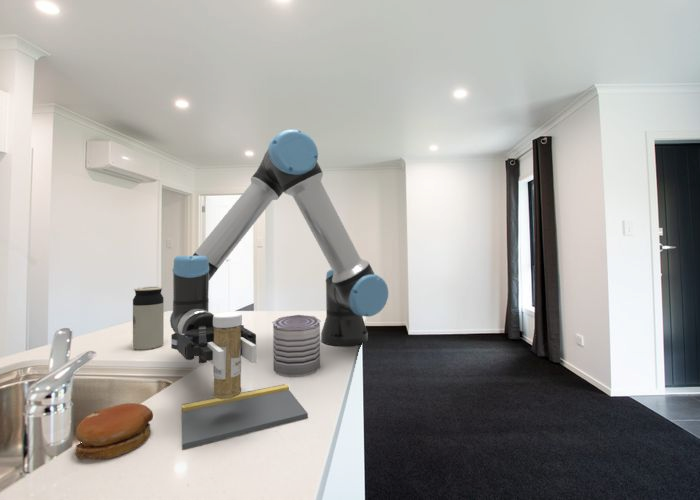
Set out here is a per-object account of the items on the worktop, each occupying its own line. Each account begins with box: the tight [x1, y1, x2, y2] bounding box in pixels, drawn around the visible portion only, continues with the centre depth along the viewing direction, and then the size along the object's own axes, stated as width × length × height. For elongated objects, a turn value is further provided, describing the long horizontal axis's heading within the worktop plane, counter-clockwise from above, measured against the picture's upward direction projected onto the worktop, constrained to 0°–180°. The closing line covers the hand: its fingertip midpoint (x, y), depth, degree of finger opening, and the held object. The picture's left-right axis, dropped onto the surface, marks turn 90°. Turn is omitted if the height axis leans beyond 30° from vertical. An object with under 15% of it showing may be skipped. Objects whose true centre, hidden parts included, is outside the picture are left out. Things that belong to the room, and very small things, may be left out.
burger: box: [74, 402, 154, 460], centre depth 49 cm, size 10×9×5 cm
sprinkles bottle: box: [212, 311, 243, 399], centre depth 54 cm, size 5×5×14 cm
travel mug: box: [132, 286, 165, 351], centre depth 99 cm, size 8×8×18 cm
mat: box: [181, 383, 309, 450], centre depth 57 cm, size 19×14×1 cm
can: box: [271, 314, 322, 378], centre depth 79 cm, size 11×11×12 cm
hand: (238, 357), depth 50 cm, fingers closed on sprinkles bottle, 4 cm apart
